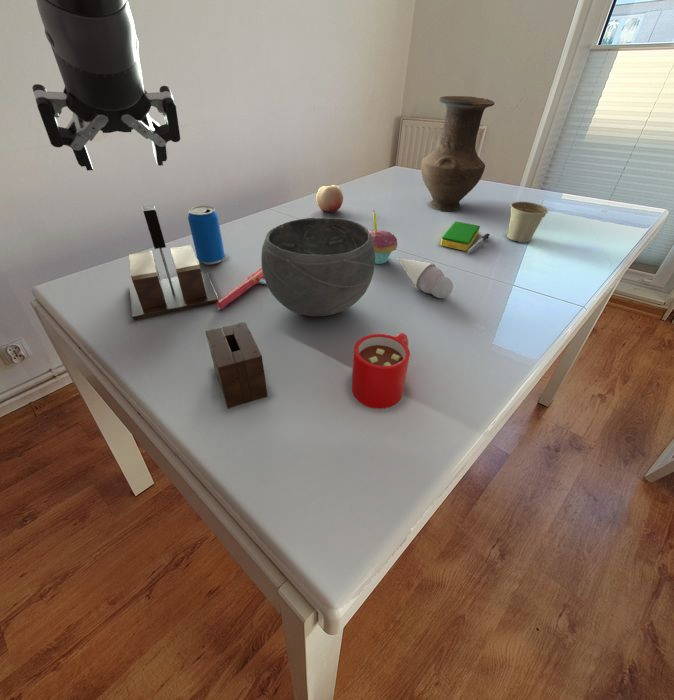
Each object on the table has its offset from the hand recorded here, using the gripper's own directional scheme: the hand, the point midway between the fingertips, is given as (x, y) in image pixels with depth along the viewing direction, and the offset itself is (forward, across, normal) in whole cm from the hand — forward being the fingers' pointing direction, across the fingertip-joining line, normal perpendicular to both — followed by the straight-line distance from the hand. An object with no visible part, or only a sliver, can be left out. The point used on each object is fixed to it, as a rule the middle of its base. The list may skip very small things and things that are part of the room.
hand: (124, 162), depth 51 cm
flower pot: (+22, -93, +14) cm, 97 cm away
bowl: (+20, -28, +20) cm, 40 cm away
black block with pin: (+30, -3, +6) cm, 30 cm away
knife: (+22, -78, +14) cm, 82 cm away
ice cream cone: (+17, -51, +22) cm, 58 cm away
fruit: (+48, -56, -19) cm, 76 cm away
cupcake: (+27, -50, +10) cm, 58 cm away
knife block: (+11, -7, +32) cm, 34 cm away
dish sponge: (+26, -78, +9) cm, 82 cm away
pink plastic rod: (+28, -20, +9) cm, 36 cm away
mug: (+5, -27, +39) cm, 48 cm away
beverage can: (+38, -14, -4) cm, 41 cm away
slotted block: (+30, -3, +7) cm, 31 cm away
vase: (+40, -93, -10) cm, 102 cm away
